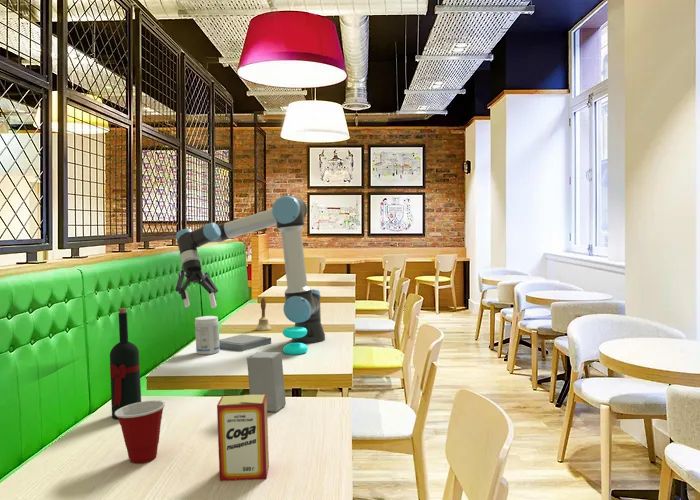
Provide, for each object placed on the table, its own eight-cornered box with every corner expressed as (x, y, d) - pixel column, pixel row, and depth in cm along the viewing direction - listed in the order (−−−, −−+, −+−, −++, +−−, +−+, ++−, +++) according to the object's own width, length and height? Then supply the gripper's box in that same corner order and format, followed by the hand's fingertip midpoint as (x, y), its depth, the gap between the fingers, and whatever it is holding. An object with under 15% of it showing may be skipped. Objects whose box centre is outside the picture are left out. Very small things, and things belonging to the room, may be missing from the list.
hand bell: (263, 327, 309) (262, 296, 308) (275, 328, 304) (274, 297, 303) (251, 330, 302) (250, 298, 301) (263, 331, 297) (262, 299, 296)
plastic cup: (124, 451, 140) (122, 400, 140) (171, 448, 141) (169, 398, 141) (109, 469, 129) (107, 414, 129) (161, 466, 130) (158, 412, 130)
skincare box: (286, 406, 172) (284, 351, 171) (275, 413, 165) (273, 356, 165) (259, 404, 175) (258, 350, 174) (247, 411, 168) (246, 355, 167)
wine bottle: (102, 422, 161) (97, 312, 160) (119, 411, 171) (115, 306, 170) (131, 422, 161) (126, 311, 160) (146, 410, 171) (142, 306, 170)
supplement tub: (213, 349, 256) (212, 315, 256) (223, 352, 249) (222, 317, 248) (192, 352, 250) (190, 317, 249) (202, 356, 243) (200, 320, 242)
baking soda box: (219, 481, 122) (216, 403, 121) (224, 468, 129) (221, 394, 128) (266, 478, 123) (263, 401, 122) (268, 466, 129) (266, 392, 129)
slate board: (271, 343, 266) (271, 337, 266) (242, 351, 251) (242, 344, 251) (241, 339, 276) (241, 334, 276) (212, 347, 261) (212, 340, 261)
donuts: (311, 326, 247) (300, 330, 238) (311, 350, 248) (300, 355, 239) (289, 325, 251) (278, 329, 242) (290, 349, 252) (278, 354, 242)
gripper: (209, 268, 273) (219, 311, 265) (161, 264, 254) (170, 309, 246) (219, 261, 269) (230, 304, 261) (170, 255, 250) (180, 301, 242)
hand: (201, 306), depth 253 cm, fingers open, 13 cm apart
